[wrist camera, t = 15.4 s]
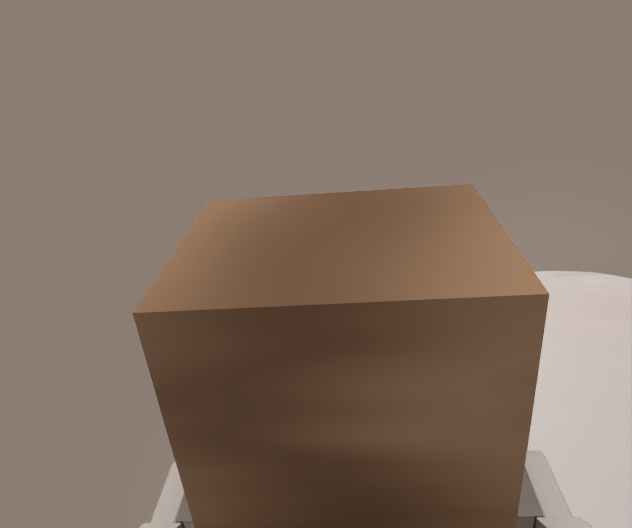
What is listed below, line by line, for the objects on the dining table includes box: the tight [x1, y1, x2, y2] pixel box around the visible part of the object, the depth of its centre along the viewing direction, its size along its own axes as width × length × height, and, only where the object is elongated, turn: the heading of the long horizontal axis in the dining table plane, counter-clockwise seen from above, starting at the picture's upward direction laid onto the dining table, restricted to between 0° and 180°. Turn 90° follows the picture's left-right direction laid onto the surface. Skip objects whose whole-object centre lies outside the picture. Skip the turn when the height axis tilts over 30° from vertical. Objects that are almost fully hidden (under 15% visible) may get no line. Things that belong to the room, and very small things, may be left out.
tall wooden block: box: [133, 184, 549, 528], centre depth 11 cm, size 5×5×14 cm
